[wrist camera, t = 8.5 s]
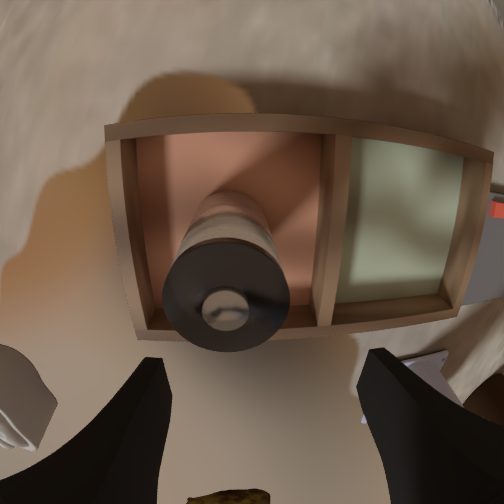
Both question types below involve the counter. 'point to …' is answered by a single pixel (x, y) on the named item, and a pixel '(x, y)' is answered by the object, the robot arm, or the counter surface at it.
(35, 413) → the lumpy-topped squat cylinder
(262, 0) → the counter surface
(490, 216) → the grey square base plate
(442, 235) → the sorting tray
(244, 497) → the potato
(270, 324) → the cell
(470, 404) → the olive oil
